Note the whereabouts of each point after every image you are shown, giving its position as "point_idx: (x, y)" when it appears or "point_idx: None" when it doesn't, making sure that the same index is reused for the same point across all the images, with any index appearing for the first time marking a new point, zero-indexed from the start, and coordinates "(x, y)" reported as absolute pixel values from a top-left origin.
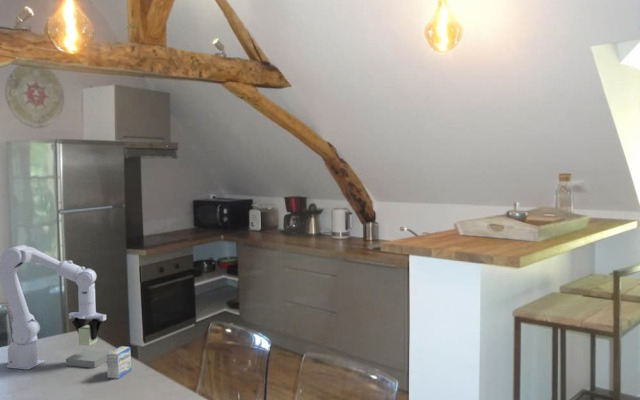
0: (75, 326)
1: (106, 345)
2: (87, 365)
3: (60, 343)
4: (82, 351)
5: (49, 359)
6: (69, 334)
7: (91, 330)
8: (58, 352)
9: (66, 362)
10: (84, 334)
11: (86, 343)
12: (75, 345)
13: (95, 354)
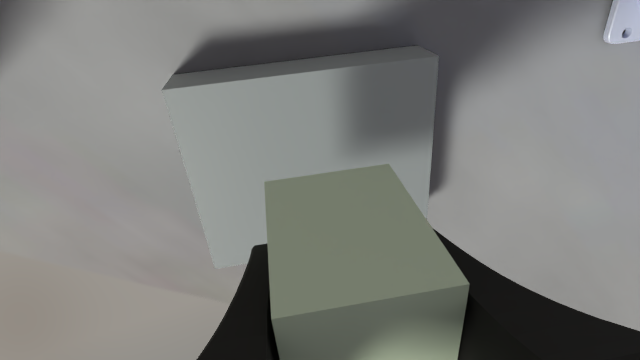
0: (544, 304)
1: None
2: (237, 70)
3: (632, 277)
4: None
5: (588, 92)
6: None
7: (251, 323)
8: (587, 193)
9: (422, 49)
10: (343, 246)
11: (302, 186)
12: (545, 286)
13: None
